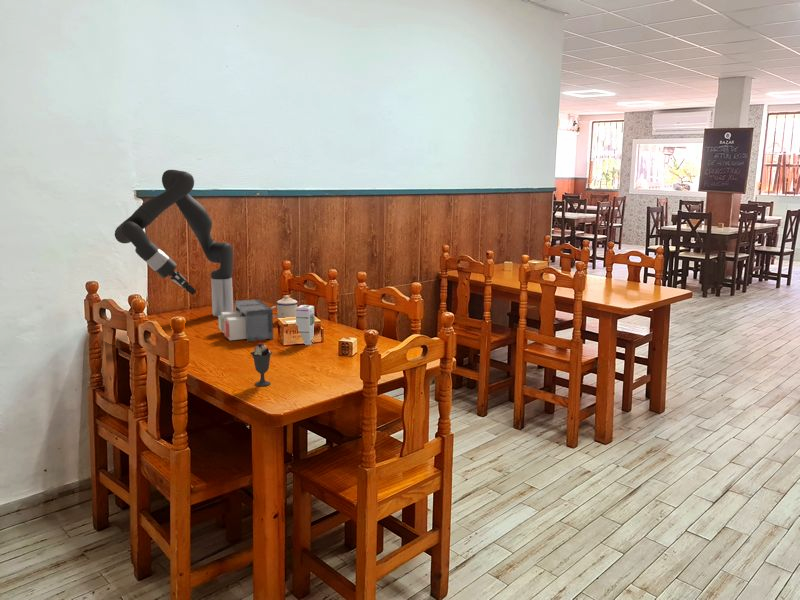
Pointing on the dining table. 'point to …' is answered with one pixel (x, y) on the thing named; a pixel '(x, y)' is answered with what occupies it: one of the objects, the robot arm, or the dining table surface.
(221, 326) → the pale greenish white box
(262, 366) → the sundae
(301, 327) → the syrup box
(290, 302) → the teacup with lid
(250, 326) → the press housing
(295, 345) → the dining table surface
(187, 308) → the dining table surface
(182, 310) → the dining table surface
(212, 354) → the dining table surface
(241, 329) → the white cube pink side
